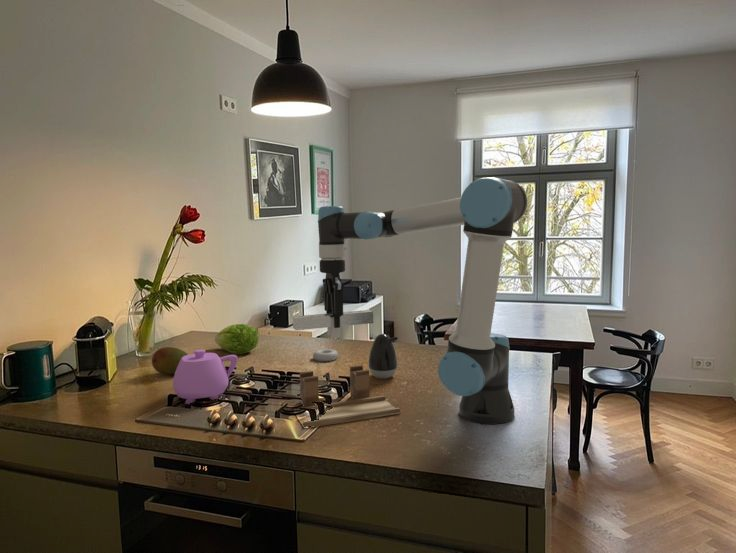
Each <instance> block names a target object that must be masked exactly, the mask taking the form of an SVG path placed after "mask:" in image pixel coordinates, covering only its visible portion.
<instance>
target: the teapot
mask: <svg viewBox="0 0 736 553" xmlns="http://www.w3.org/2000/svg"><path fill="white" fill-rule="evenodd" d="M238 359H239V358H238V356H237V354H229V355H224V356H221V357H220V356H219V355H218V354H217V353H215V352H206V350H205V349H201V348H200V349H196V350H194V351H193V353H191V354H188V355H186V356H183V357H182V358H181V360H180V362H179V364H178V367H177V369H176V372H175V374H173V381H172V382H173V383H172V388H173V391H174V392H175V394H176V395H177V396H178V397H179V398H181V399H185V402H184V404H185V405H191V404H190V403H192V402H194V401H195V402H196V399H204V398H209V400H210V399H216V398H218V397H219V398H220V396H219V395H222V394H224V392H225V391H226V389H227V388H228V385H229V377H230V376H231V374H232V372H233V371H234V369H235V368H236V366H237V363H238ZM227 360H229V361H230V365H229V368H228V370H227V368H226V366H225V364H224V361H227Z"/></svg>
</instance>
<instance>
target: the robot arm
mask: <svg viewBox="0 0 736 553" xmlns="http://www.w3.org/2000/svg"><path fill="white" fill-rule="evenodd" d="M527 207H528V196H527V194H526V191H525V189H524V188H523V187H522V185H520V184H519V183H517V182H516V181H514V180H510V179H506V178H499V177H495V176H492V177H490V176H489V177H487V176H486V177H482V178H481V177H480V178H477V179H476V180H474V181H472V182H470V183H469V184H468V185H467V186H466V187H465V189H464V190H463V192H462V194H461V197H456V198H452V199H446V200H445V199H444V200H440V201H436V202H431V203H425V204H418V205H415V206H410V207H403V208H398V209H392V210H386V211H382V212H381V211H380V212H378V211H377V212H375V211H360V212H359V211H358V212H357V211H356V212H355V211H354V212H345V210H344V209H345V208H344V207H343V206H342V205H327V206H324V205H323V206H320V207H319V208H318V215H317V216H318V218H317V225H318V238H319V241H318V257H319V259H320V260H319V272H320V273H322V274H325V277H324V278H323V279H322V284H323V301H324V302H323V303H324V304H323V305H324V311H325V314H327V313H332V315H330V317H331V327H326V328H327V330H326V331H327V337H331V340H336V339H342V326H341V315H343V312H344V286H345V283H344V281H343V282H342V278H341V277H340V276H341V275H340V273H345V271H346V260H345V259H344V258H345V255H346V254H345V251H346V250H347V247H346V246H345V241H346V240H347V239H350V240H351V239H353V240H360V239H361V240H371V239H372V240H373V239H374V240H375V239H377V238H392V237H394V236H401V235H405V234H406V235H407V234H413V233H419V232H427V231H432V230H438V229H446V228H451V227H458V226H463V229H462V230H463V231H462V233H463V234H465V236H466V237H467V241H468V242H467V248H466V255H465V262H464V270H463V277H462V284H461V292H460V300H459V306H458V314H457V318H456V328H455V332H453V333H451V335H449V336H448V341H447V349H446V353H445V354H444V355H443V356H442V357H441V359H440V360H439V363H438V367H437V371H438V377H439V379H440V382H441V384H443V386H444V388H445V389H446V390H448V391H449V392H451V393H452V394H454V395H456V396H460V397H461V400H460V402H459V407H458V409H459V410H458V411H459V412H458V413H459V415H460V417H462V418H463V419H465V420H467V421H470V422H474V423H476V424H485V425H486V424H487V425H499V424H505V423H509V422H510V421H512V420H513V419H515V406H514V402H513V399H512V396H511V392H510V389H509V377H510V376H509V372H510V371H509V370H510V369H509V368H510V366H509V364H510V349H511V348H510V341H509V338H508V336H507V335H504V334H499V333H495V332H494V333H493V332H492V325H493V320H494V312H495V307H496V300H497V292H498V287H499V286H498V285H499V280H500V272H501V267H502V261H503V260H502V259H503V252H504V245H505V243H506V242H507V241H508V240H510V239H511V238H512V237H513V228H514V224H515V223H516V222H518V221H519V220H520V219H522V217H523V216H524V215H525V213H526V211H527Z"/></svg>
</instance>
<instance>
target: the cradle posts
mask: <svg viewBox="0 0 736 553" xmlns="http://www.w3.org/2000/svg"><path fill="white" fill-rule="evenodd" d="M349 383H350V384H349V389H350V390H349V394H350V396H351V397H352V398H353V400H356V399H363V398H370V396H371V395H370V369H364V365H362V364H360V365H353V366H351V365H350V366H349ZM319 391H320V390H319V376H318V375H314V371H313V370H310V371H303V372H299V392H300V393H299V394H300V396H299V397H300V398H301V399H302V402H303V404H304V406H305V407H307V406H314V405H315V404H314V403H312V402H314V401H319V400H320V399H319V398H320V393H319ZM319 402H320V401H319ZM304 406H303V407H304Z"/></svg>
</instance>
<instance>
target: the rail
mask: <svg viewBox="0 0 736 553" xmlns="http://www.w3.org/2000/svg"><path fill="white" fill-rule="evenodd" d="M330 315H332V313H318V314H306V315H294V316H292V329H293V330H295V331H305V330H315V329H325V328H327V327H331V317H330ZM367 324H374V311H372V310H370V309H365V310H353V311H351V310H350V311H343V315H341V327H346V326H355V325H356V326H357V325H367Z"/></svg>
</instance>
